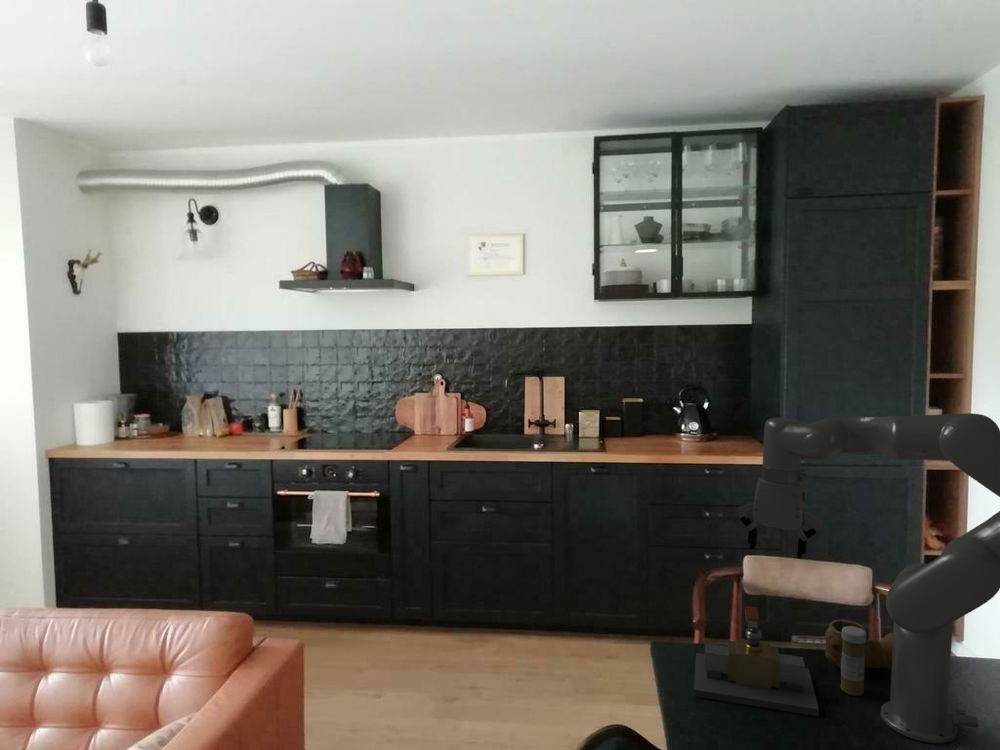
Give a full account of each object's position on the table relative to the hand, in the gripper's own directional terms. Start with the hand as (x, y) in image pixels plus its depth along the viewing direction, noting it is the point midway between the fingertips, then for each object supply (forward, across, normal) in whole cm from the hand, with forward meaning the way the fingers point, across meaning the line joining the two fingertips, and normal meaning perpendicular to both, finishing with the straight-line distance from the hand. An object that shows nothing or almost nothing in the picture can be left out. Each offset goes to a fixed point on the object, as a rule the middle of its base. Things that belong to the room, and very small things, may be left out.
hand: (776, 551), depth 145 cm
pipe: (+28, -18, -13) cm, 36 cm away
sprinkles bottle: (+28, -16, -2) cm, 33 cm away
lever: (+18, +4, +1) cm, 18 cm away
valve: (+27, +2, +7) cm, 28 cm away
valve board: (+28, +2, +7) cm, 29 cm away
